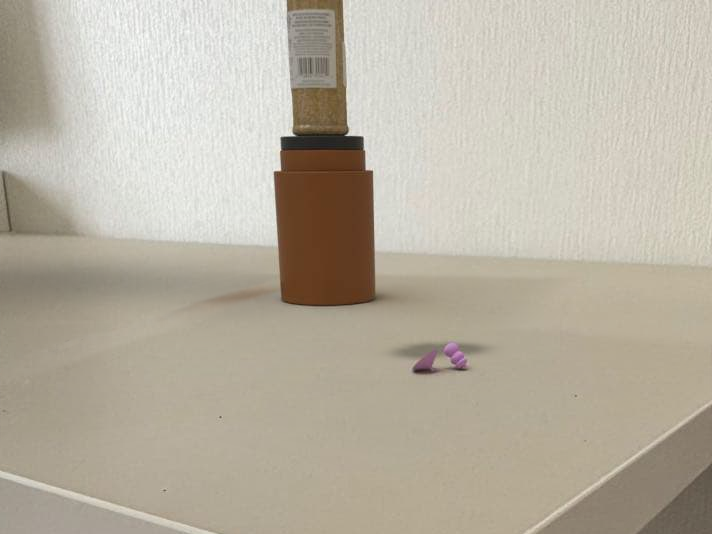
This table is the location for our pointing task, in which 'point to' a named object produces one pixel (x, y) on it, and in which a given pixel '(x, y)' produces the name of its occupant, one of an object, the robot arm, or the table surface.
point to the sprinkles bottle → (317, 67)
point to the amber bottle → (325, 221)
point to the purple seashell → (449, 351)
